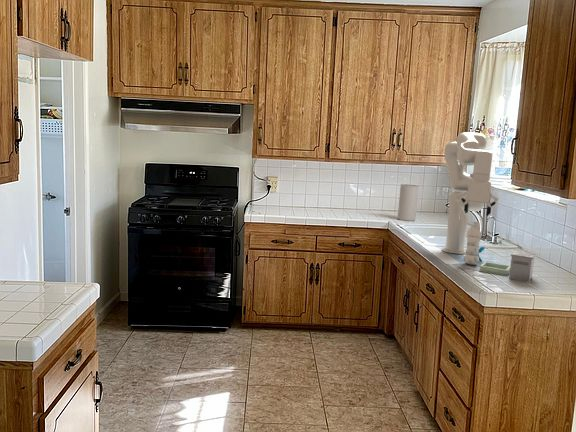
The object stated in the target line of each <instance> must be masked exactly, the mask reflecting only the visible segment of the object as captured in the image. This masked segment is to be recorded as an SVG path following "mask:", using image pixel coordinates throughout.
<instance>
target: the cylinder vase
mask: <svg viewBox="0 0 576 432" xmlns="http://www.w3.org/2000/svg"><path fill="white" fill-rule="evenodd" d="M419 188H420V187H419V185H415V184H403V183H402V184H400V189H399V199H398V211H397V219H398V220H400V221H403V222H414V221H416V216H417V207H418V196H419Z"/></svg>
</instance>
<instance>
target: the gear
mask: <svg viewBox="0 0 576 432" xmlns="http://www.w3.org/2000/svg"><path fill="white" fill-rule="evenodd" d="M485 248H486V247H485V246H481V247H480V248H479V251H478V256H479V262H480V263H481V262H483V259H482V258H481V257H480V253H482V252H483V251H485Z"/></svg>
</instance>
